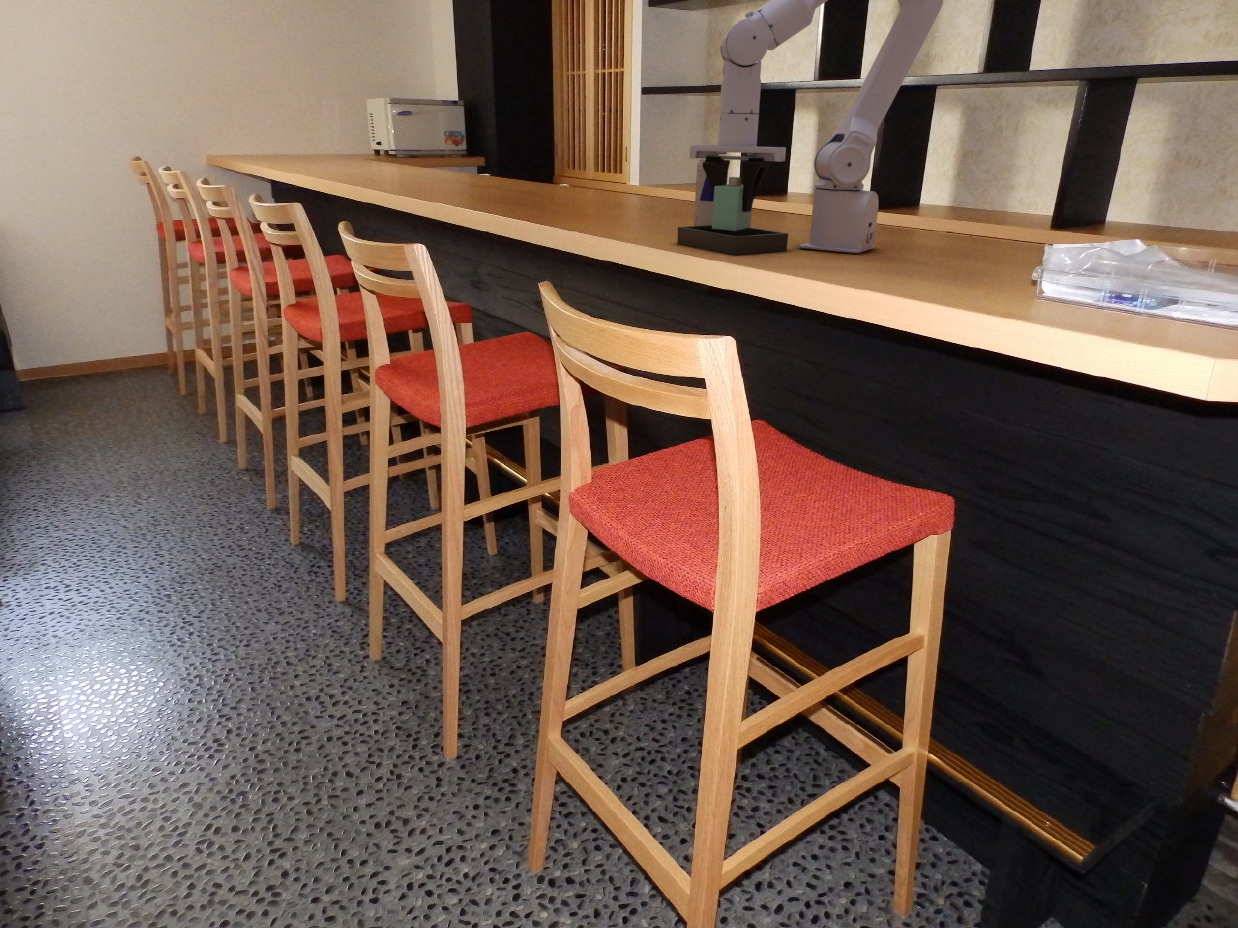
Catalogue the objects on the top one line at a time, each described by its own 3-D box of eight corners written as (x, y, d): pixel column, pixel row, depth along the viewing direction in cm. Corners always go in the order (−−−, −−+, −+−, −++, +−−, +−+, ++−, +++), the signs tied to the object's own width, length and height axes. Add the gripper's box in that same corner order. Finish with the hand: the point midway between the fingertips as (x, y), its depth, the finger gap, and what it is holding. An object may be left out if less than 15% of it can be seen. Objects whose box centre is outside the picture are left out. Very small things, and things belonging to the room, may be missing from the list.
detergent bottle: (750, 227, 131) (754, 177, 128) (736, 231, 126) (739, 179, 123) (726, 225, 132) (730, 175, 130) (711, 229, 128) (714, 177, 125)
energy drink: (722, 235, 145) (727, 161, 140) (691, 233, 146) (695, 160, 142) (725, 231, 150) (730, 160, 145) (695, 230, 151) (699, 159, 146)
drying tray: (786, 251, 127) (788, 233, 126) (735, 255, 122) (736, 237, 121) (726, 240, 138) (727, 224, 137) (677, 243, 133) (677, 227, 132)
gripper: (795, 115, 123) (787, 211, 128) (705, 114, 130) (700, 206, 135) (779, 114, 117) (771, 215, 122) (685, 113, 124) (681, 209, 129)
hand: (733, 210), depth 128 cm, fingers closed on detergent bottle, 4 cm apart
